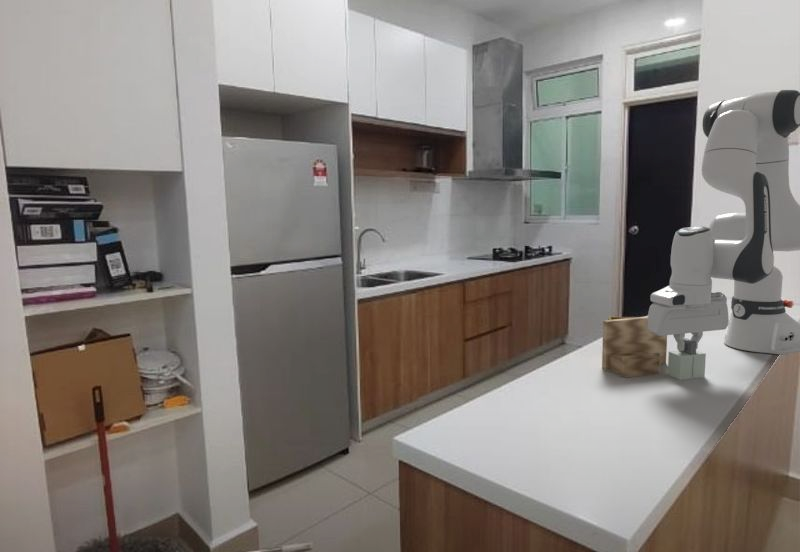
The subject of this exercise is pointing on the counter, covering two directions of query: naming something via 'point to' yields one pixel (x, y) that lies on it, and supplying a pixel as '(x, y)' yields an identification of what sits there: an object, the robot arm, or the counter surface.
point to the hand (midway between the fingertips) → (687, 349)
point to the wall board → (632, 347)
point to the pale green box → (687, 362)
